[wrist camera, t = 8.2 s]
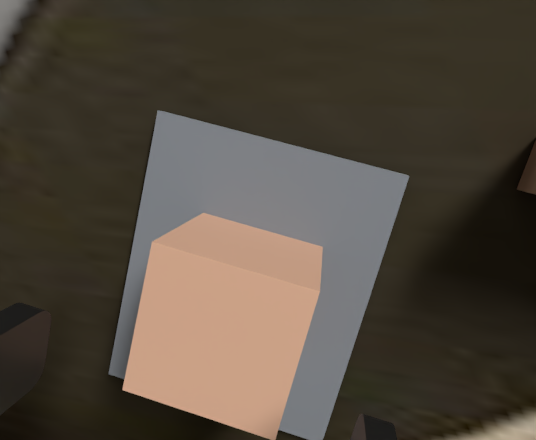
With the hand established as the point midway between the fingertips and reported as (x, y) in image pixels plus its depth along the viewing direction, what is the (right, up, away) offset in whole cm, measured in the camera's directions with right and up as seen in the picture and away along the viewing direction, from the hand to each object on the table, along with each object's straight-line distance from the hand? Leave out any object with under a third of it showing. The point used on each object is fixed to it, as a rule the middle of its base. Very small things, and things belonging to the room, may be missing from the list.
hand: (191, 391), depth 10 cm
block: (+1, +1, +7) cm, 7 cm away
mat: (+1, +2, +8) cm, 8 cm away
